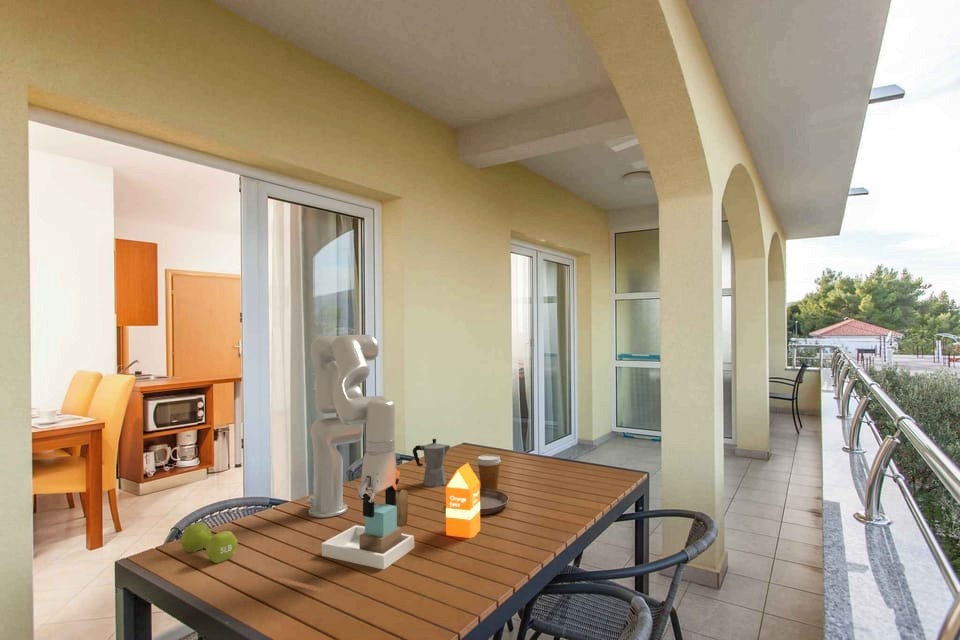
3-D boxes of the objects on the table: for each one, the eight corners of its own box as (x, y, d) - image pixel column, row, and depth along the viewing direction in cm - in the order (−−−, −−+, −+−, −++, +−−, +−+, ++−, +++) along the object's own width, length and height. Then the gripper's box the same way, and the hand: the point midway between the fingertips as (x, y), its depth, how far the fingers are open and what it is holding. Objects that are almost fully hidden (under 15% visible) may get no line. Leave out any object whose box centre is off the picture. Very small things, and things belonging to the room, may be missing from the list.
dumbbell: (240, 556, 132) (240, 529, 132) (210, 568, 125) (210, 539, 126) (206, 543, 141) (207, 518, 141) (177, 554, 134) (177, 527, 134)
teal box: (364, 533, 129) (364, 510, 129) (378, 525, 135) (378, 503, 135) (383, 537, 127) (383, 513, 127) (396, 528, 132) (396, 506, 132)
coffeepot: (449, 479, 204) (448, 435, 205) (452, 485, 195) (452, 440, 195) (411, 481, 200) (411, 437, 201) (413, 488, 191) (413, 442, 192)
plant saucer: (517, 513, 163) (517, 503, 163) (457, 520, 157) (457, 510, 157) (497, 495, 183) (497, 486, 183) (443, 500, 177) (443, 491, 177)
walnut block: (359, 558, 128) (359, 535, 128) (380, 545, 136) (380, 523, 136) (381, 563, 125) (381, 539, 125) (401, 549, 133) (401, 527, 133)
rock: (414, 522, 149) (420, 507, 159) (396, 500, 149) (404, 486, 159) (387, 542, 150) (395, 525, 160) (369, 521, 150) (379, 505, 160)
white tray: (321, 558, 130) (321, 543, 130) (355, 539, 143) (355, 525, 143) (383, 572, 121) (383, 556, 122) (414, 550, 134) (414, 535, 134)
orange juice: (480, 529, 149) (479, 463, 149) (470, 541, 140) (469, 470, 141) (456, 526, 151) (456, 461, 152) (445, 537, 143) (444, 468, 144)
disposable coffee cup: (476, 485, 195) (475, 454, 195) (499, 484, 195) (499, 454, 196) (478, 492, 185) (477, 460, 186) (503, 491, 186) (502, 459, 186)
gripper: (387, 438, 141) (387, 498, 141) (347, 451, 125) (347, 519, 125) (409, 441, 138) (409, 502, 138) (371, 455, 122) (371, 524, 122)
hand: (379, 510), depth 131 cm, fingers open, 9 cm apart
